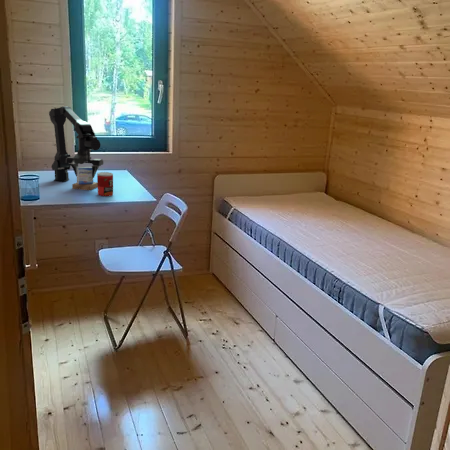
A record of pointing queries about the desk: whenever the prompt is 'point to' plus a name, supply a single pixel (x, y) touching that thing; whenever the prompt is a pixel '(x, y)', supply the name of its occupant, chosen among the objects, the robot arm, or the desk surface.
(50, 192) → the desk surface
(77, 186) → the tan block
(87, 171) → the medicine box
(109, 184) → the canned food
